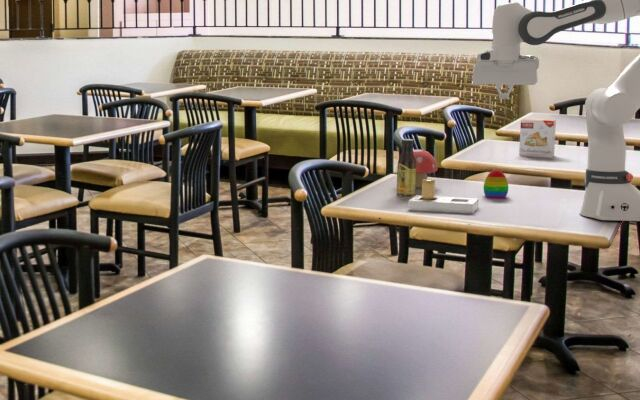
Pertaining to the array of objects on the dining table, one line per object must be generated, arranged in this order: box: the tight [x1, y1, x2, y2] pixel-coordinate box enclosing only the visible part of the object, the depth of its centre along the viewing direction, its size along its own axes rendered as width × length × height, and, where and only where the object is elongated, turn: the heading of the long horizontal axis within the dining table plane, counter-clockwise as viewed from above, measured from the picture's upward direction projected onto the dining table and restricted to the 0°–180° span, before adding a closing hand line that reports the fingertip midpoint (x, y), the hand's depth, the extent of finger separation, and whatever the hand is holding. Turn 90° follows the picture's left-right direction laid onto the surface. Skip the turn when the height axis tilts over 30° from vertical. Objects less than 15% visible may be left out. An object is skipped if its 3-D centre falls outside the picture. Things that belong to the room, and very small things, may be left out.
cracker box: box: [518, 118, 557, 159], centre depth 396 cm, size 14×6×21 cm, turn 67°
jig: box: [408, 194, 479, 215], centre depth 292 cm, size 20×12×3 cm, turn 73°
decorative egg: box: [483, 169, 509, 200], centre depth 312 cm, size 8×8×10 cm
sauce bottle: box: [396, 138, 416, 197], centre depth 312 cm, size 7×6×20 cm
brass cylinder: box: [421, 178, 436, 200], centre depth 293 cm, size 4×4×9 cm
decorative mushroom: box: [413, 148, 438, 189], centre depth 327 cm, size 13×13×15 cm
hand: (504, 99), depth 295 cm, fingers closed
